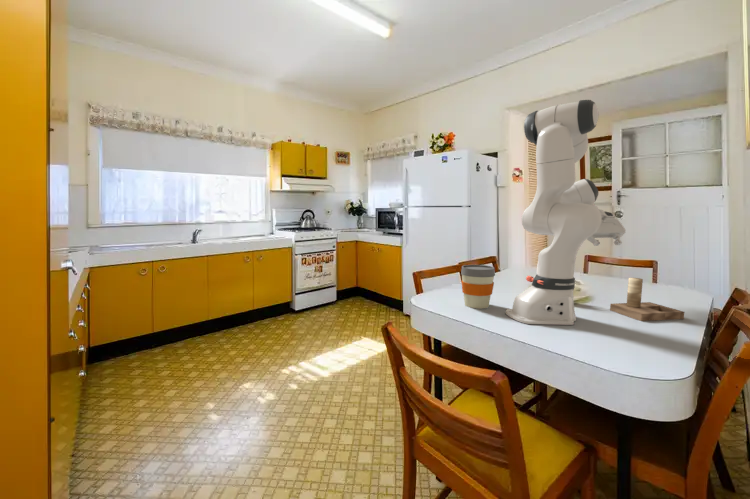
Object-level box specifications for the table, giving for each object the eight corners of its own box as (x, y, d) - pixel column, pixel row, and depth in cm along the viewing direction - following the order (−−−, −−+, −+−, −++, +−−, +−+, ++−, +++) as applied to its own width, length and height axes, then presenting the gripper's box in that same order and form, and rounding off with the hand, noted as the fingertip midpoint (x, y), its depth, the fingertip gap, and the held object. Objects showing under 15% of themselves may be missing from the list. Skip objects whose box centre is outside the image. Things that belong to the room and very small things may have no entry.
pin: (633, 307, 119) (635, 279, 117) (623, 304, 122) (625, 277, 121) (643, 307, 119) (645, 279, 118) (633, 304, 123) (635, 277, 122)
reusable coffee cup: (458, 300, 138) (459, 264, 136) (490, 301, 136) (492, 265, 134) (461, 309, 126) (462, 269, 124) (496, 310, 124) (498, 270, 122)
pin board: (640, 321, 112) (641, 313, 112) (610, 310, 124) (610, 303, 124) (683, 319, 114) (684, 311, 114) (649, 308, 126) (649, 302, 126)
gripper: (572, 213, 136) (588, 239, 128) (617, 213, 139) (636, 238, 130) (563, 224, 141) (579, 250, 132) (607, 223, 144) (625, 248, 135)
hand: (608, 244), depth 131 cm, fingers open, 8 cm apart
